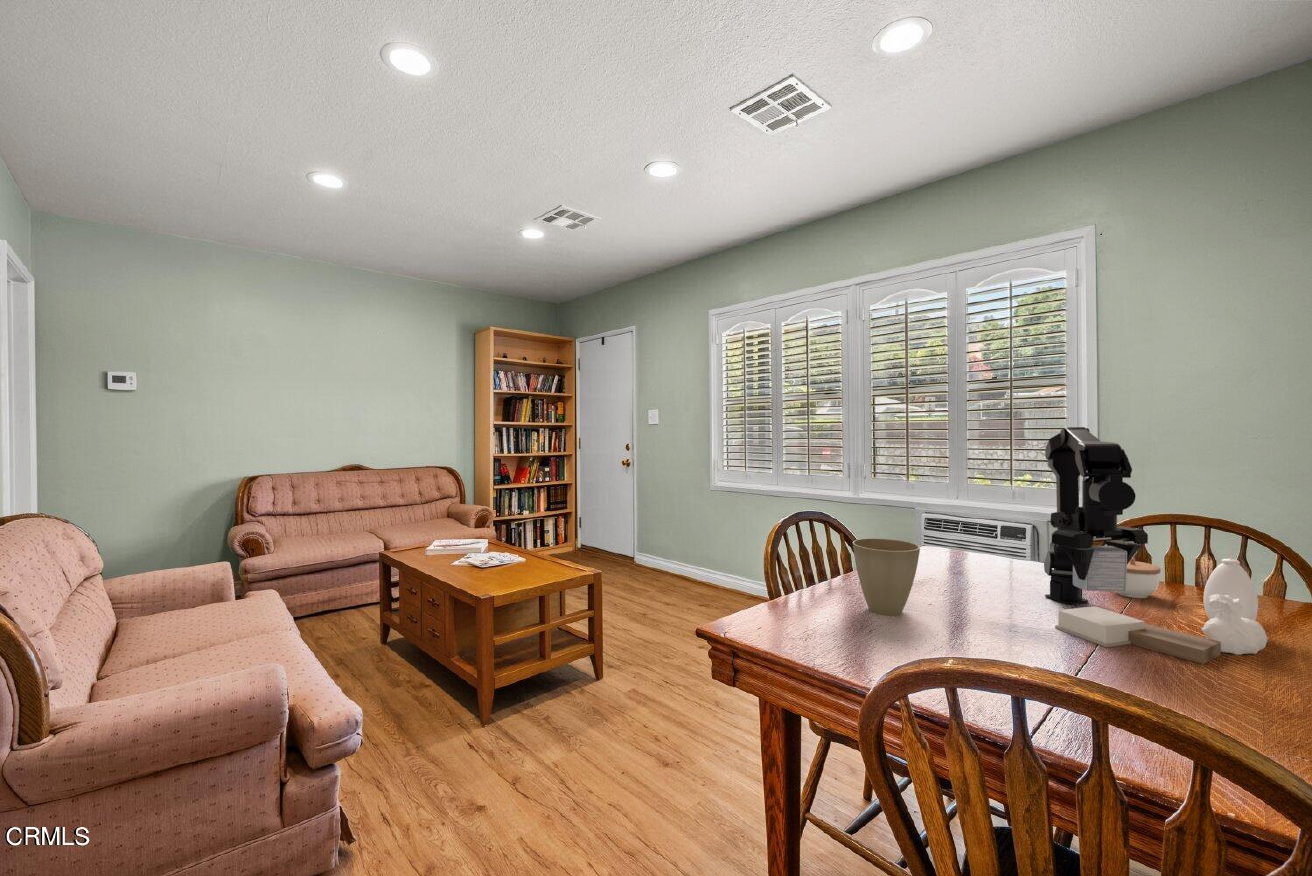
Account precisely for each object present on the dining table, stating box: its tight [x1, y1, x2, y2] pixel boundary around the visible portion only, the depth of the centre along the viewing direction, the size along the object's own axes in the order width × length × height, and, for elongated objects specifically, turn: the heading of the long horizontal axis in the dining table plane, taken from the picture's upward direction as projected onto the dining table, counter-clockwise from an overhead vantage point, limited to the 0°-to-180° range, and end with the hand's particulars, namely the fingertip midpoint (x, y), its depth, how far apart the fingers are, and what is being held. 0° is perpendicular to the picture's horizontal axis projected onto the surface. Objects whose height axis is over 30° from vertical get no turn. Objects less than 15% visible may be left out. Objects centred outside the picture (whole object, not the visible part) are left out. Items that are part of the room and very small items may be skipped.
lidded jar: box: [1116, 557, 1161, 599], centre depth 143 cm, size 11×11×9 cm
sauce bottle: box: [1202, 547, 1259, 621], centre depth 116 cm, size 8×8×18 cm
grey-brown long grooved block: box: [1128, 622, 1222, 665], centre depth 109 cm, size 8×12×2 cm, turn 29°
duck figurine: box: [1201, 594, 1268, 656], centre depth 109 cm, size 12×8×11 cm
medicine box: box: [1073, 545, 1127, 592], centre depth 116 cm, size 8×4×9 cm, turn 85°
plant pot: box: [852, 537, 921, 616], centre depth 133 cm, size 15×15×16 cm
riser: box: [1054, 605, 1145, 648], centre depth 116 cm, size 11×11×4 cm
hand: (1099, 578), depth 116 cm, fingers closed on medicine box, 9 cm apart
